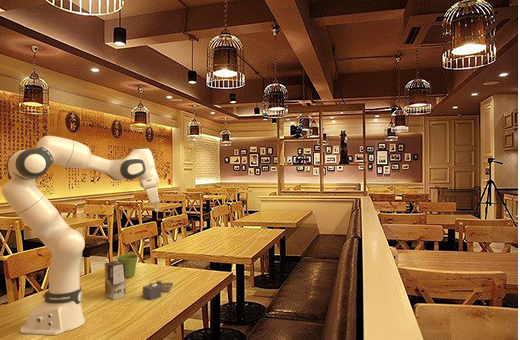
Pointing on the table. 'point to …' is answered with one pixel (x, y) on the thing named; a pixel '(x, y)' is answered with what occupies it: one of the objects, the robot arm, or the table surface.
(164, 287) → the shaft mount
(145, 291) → the grey drawer unit
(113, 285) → the coffee box
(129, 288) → the table surface
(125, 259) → the plant pot
